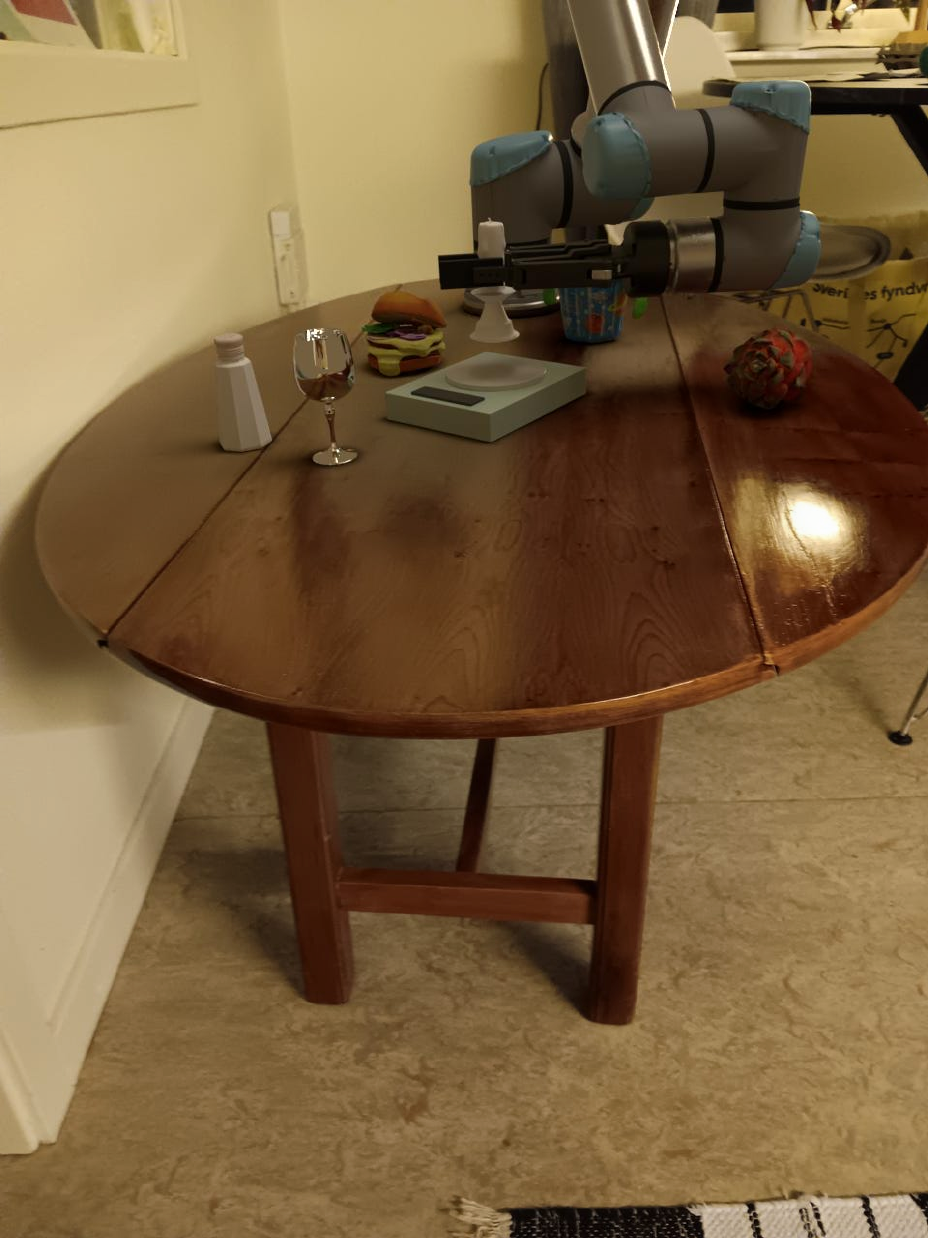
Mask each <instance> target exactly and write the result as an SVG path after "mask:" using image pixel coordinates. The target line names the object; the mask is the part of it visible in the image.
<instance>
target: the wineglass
mask: <svg viewBox="0 0 928 1238" xmlns="http://www.w3.org/2000/svg"><path fill="white" fill-rule="evenodd" d="M293 339H294V340H293V349H292V350H293V351H292V369H293V370H292V371H293V378H294V381H295V384H296V387H297V389H298V390H299V392H300V393H301V394H302V395H303V396H304V397H305V398H307V399H309V400H310V401H314V402H317V403H323V404H325V406H324V415H325V418H326V421H327V424H328V428H329V438H330V445H329V448H326V449H323V450H320V451H317V452H316V453H314V454H313V455H312V461H313V462H314V463H315V464H318V465H323V466H337V465H338V466H339V465H344V464H348V463H350V462H353V461H354V460H356V459H357V458H358V455H359V454H358V451H356V450H355V449H353V448H350V447H340V446H339V445H338V443H337V440H336V433H335V416H336V411H335V410H336V409H335V407H334V405H333V404H332V403H334V402H337V401H339V400H341V399H343V398H344V397H346V396H347V395H348V394H349V393H351V391H352V389H353V387H354V385H355V381H356V365H355V359H354V355H353V351H352V348H351V345H350V341H349V339H348V336H347V333H346V331H345V330H344V329H341V328H337V327H318V328H311V329H305V330H302V331H299V332H297V333H295V335H294V338H293Z"/></svg>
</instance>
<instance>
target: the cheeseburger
mask: <svg viewBox="0 0 928 1238" xmlns="http://www.w3.org/2000/svg"><path fill="white" fill-rule="evenodd" d="M370 317H371V318H372V320H373V321H375V322H377V323H372V324H370V325H369V324H368V325H367V324H365V325H364V327H363V326H362V327H361V330H362V332H366V336H365V340H366V342H367V343H368V344H366V347H365V351H366V353H367V354H366V357H367V360H368V361H367V362H368V364H369V366H370V367H372V368H374V369H375V370H378V371H379V372H380V373H381V374H382V375H384V376H387V377H395V376H396V377H397V376H398V375H399V374H401V373H406V372H412V371H417V370H421V369H426V368H433V367H436V366H437V365H439V364H440V363H441V362H442V357H443V354H444V351H445V349H446V343H445V342H444V341H443V340H442V339H444V333H443V331H442V330H440V329H443V328H447V327H448V326H449V323H445V319H444V315H443V313H442V310H441V308H440V306H439V305H438V304H437V303H436V302H435V301H434V300H432V299H428V298H420V297H418V296H417V295H415V294H412V293H410V292H408V291H403V290H402V291H401V290H397V291H396V290H395V291H392V290H391V291H387V292H385V293H383V294H382V295H380V296H379V298H378V299H377V300H376V302H375V303H374V306H373V308H372V311H371V315H370Z"/></svg>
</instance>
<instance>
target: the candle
mask: <svg viewBox="0 0 928 1238" xmlns="http://www.w3.org/2000/svg"><path fill="white" fill-rule="evenodd" d="M488 219H489V221H488V222H485V223H480V224H479V227H478V251H477V254H478V257H479V258H495V257H503V265H504V249H505V247H506V244H505V239H504V227H503V224H502V223H501V222H492V221H491V219H490V218H488ZM514 292H515V290H514V289H513V288H511V287H506V286H505V282H504V286H496V287H481V288H477V289H474V290H472V291H471V294H472V295H474V296H476V297H477V298H479V299H481V300H482V301H484V302H485V307H484V310H483V313H482V315H480V318H479V320H477V321H476V323H475V329H474V331H473V332H471V333H470V335H469V338H470V339H471V340H472V341H474V342H478V343H488V344H495V343H496V344H497V343H505V342H510V341H513V340H516V339H518V338H519V337H520V332H519V331H518V330H516V329H515V328H514V325H513V321H512V320H511V318H509V317H507V315H506V313H505V311H504V308H503V306H502V301H503V300H505V299H506V298H507V297H509V296H510V295H511V294H513V293H514Z"/></svg>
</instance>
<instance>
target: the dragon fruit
mask: <svg viewBox="0 0 928 1238" xmlns="http://www.w3.org/2000/svg"><path fill="white" fill-rule="evenodd" d="M812 354H813V353H812V350H811V348H810V346H809V344H808V343H807V342H806V341H805V340H804V339H802V338H801V339H800V338H797V339H796V338H795V334H794V332H793V331H792V330H791V329H789V328H785V327H783V326H777V325H776V326H773V327H772V328H771V329H764V330H762V331H758V332H757V333H756V334H754V335H752V336H750V337H749V339H747V340H746V341H745V342H743V344H740V345H738V346H736V347H735V348H734V349H733V351H732V356H731V357H730V359H729V360H728V361H727V362H726V363H725V365H724V367H723V370H724V372H725V373H726V374H727V375H728V376H727V377H726V379H725V381H726V383H727V386H728V387H729V389H732V390H734V392H735V393H736V394H737V395H738V396H739V397H740V398H742V400H744V401H749V402H750V404H752V405H753V406H755V407H757V408H760V409H763V410H772V409H774V408H775V407H777V406H778V405H779V403H780V402H781V401H782V402H784V403H786V404H790V403H791V402H795V403H798V402H799V401H801V399H802V398H803V396H804V395H805V392H806V388H807V387H806V385H807V384H806V383H807V382H806V381H807V380H809V379H810V377H811V375H812V369H813V359H812V358H813V357H812Z"/></svg>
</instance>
